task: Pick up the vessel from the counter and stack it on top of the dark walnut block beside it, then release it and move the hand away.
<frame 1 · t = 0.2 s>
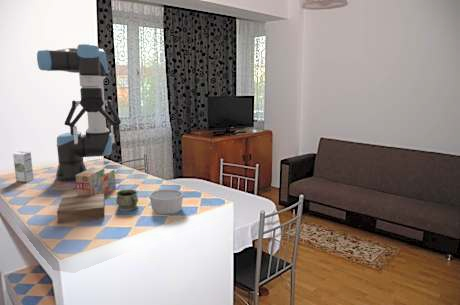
hand: (94, 143, 141), 27 cm above the table, tool pointing down, fingers open, 13 cm apart
syrup box: (25, 180, 183), on the table
vessel: (127, 207, 150), on the table
stack of blocks: (97, 195, 164), on the table
walnut block: (83, 214, 143), on the table
ramekin: (167, 210, 147), on the table
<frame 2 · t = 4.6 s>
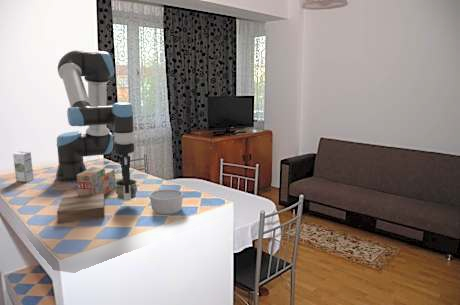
hand: (126, 195, 149), 5 cm above the table, tool pointing down, fingers closed on vessel, 9 cm apart
vessel: (126, 197, 149), point 4 cm above the table, touching gripper
everything else where it was.
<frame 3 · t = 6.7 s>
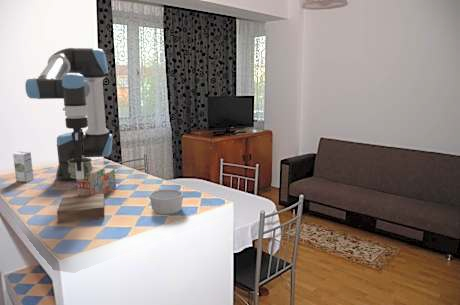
hand: (81, 175, 140), 15 cm above the table, tool pointing down, fingers closed on vessel, 9 cm apart
vessel: (81, 176, 140), point 15 cm above the table, touching gripper
everything else where it was.
when the fingers open (6 cm above the table, at t = 9.3 s): vessel drops 2 cm, resting on walnut block.
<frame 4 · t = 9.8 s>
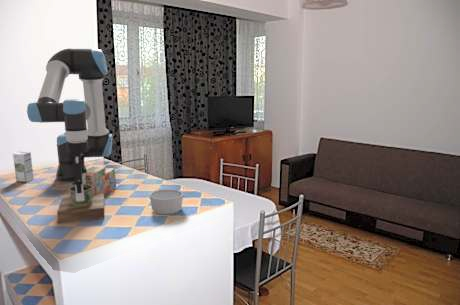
hand: (81, 194, 141), 8 cm above the table, tool pointing down, fingers open, 13 cm apart
vessel: (82, 203, 142), point 4 cm above the table, touching walnut block
walnut block: (83, 214, 143), on the table, touching vessel
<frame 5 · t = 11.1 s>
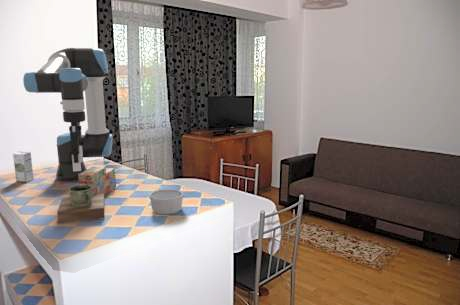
hand: (78, 166, 139), 19 cm above the table, tool pointing down, fingers open, 13 cm apart
vessel: (82, 203, 142), point 4 cm above the table
walnut block: (83, 214, 143), on the table
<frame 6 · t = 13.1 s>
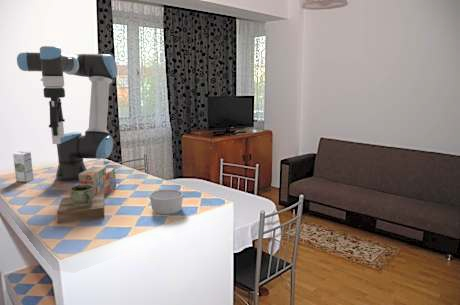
hand: (58, 140, 147), 27 cm above the table, tool pointing down, fingers open, 13 cm apart
vessel: (83, 202, 142), point 4 cm above the table, touching walnut block
walnut block: (83, 214, 143), on the table, touching vessel
at the end: vessel inside the target area on the walnut block (0.3 cm from its centre), point 4.8 cm above the walnut block's base; vessel tilted 0°; the gripper is holding nothing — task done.
